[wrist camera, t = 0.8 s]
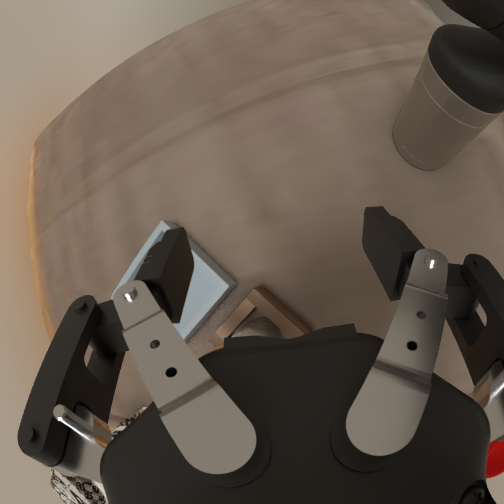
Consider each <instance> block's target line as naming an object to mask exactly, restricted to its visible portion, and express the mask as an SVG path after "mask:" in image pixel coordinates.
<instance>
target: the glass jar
mask: <svg viewBox="0 0 504 504" xmlns="http://www.w3.org/2000/svg"><path fill="white" fill-rule="evenodd" d="M254 335H258V336H266V337H275V338H281V331H280V328H278V327H277V326H276V325H275V324H274V323H273V322H272V321H271V320H270V319H268V318H267V317H257V318H254V319H253V320H251V321H250V322H249V323H247V324H246V325H245V326H244V327H243V328H241V329H240V330H239V331H238V332H237V333H235V334H234V335H233V336H232V337H240V336H254ZM222 347H224V343H222V344H219V345H218V346H216V347H215V348H213V349H212V350H211V351H213V350H216V349H219V348H222ZM211 351H209V352H211ZM209 352H208V353H209Z"/></svg>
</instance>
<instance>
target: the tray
mask: <svg viewBox="0 0 504 504" xmlns="http://www.w3.org/2000/svg"><path fill="white" fill-rule="evenodd" d="M175 228H179V227H178V226H177V225H176V224H175V223H172V222H169V221H165V220H162V221H161V222H160V223H159V225H158V226H157V228H156V229H155V230H154V232H153V233H152V235H151V236H150V237H149V239H148V240H147V242H146V243H145V245H144V246H143V248H142V249H141V251H140V252H139V254H138V255H137V256H136V258H135V259H134V261H133V263H132V264H131V266H130V267H129V269H128V270H127V272H126V273H125V275H124V276H123V278H122V280H121V281H120V283H119V284H118V286H117V288H116V289H115V291H114V293H115V292H116V290H117V289H118V288H119V287H120V286H122V285H123V284H125V283H127V282H130V281H133V280H134V278H135V276H136V275H137V273H138V271H139V269H140V267H141V265H142V263H143V261H144V259H145V257H146V255H147V253H148V252H149V250H150V248H151V247H152V246H154V245H155V244H156V243H157V242H160V241H161V239H162V238H163V236H164V234H165V232H166V230H168V229H175ZM187 238H188V241H189V244H190V248H191V251H192V254H193V258H194V272H193V275H192V279H191V282H190V286H189V290H188V293H187V297H186V301H185V305H184V308H183V312H182V316H181V320H180V323H178V324H173V325H174V327H175V328H176V330H177V331H178V332H179V334H180V335H181V337H182V338H183V340H184V341H185V342H186V343H187V342H188V341H189V340H190V338H191V337H192V336H193V335H194V334H195V333H196V332H197V330H198V329H199V328H200V327H201V326H202V325H203V324H204V322H205V321H206V320H207V319H208V318H209V317H210V316H211V314H212V313H213V312H214V311H215V310H216V309H217V307H218V306H219V305H220V304H221V303H222V302H223V301H224V299H225V298H226V297H227V296H228V295H229V294H230V292H231V291H232V290H233V289H234V288H235V287H236V286H237V283H236V282H235V281H234V280H233V279H232V278H231V277H230V276H229V275H228V274H227V273H226V272H225V271H224V270H223V269H221V268H220V267H219V266H218V265H217V264H216V263H215V262H214V261H213V260H212V259H211V258H210V257H209V256H208V255H207V254H206V253H205V252H204V251H203V250H202V249H201V248H200V247H199V246H198V245H196V244H195V243H194V242H193V241H192V240H191V239H190V238H189V237H188V236H187ZM114 293H113V294H112V296H111V298H112V300H113V296H114Z"/></svg>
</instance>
